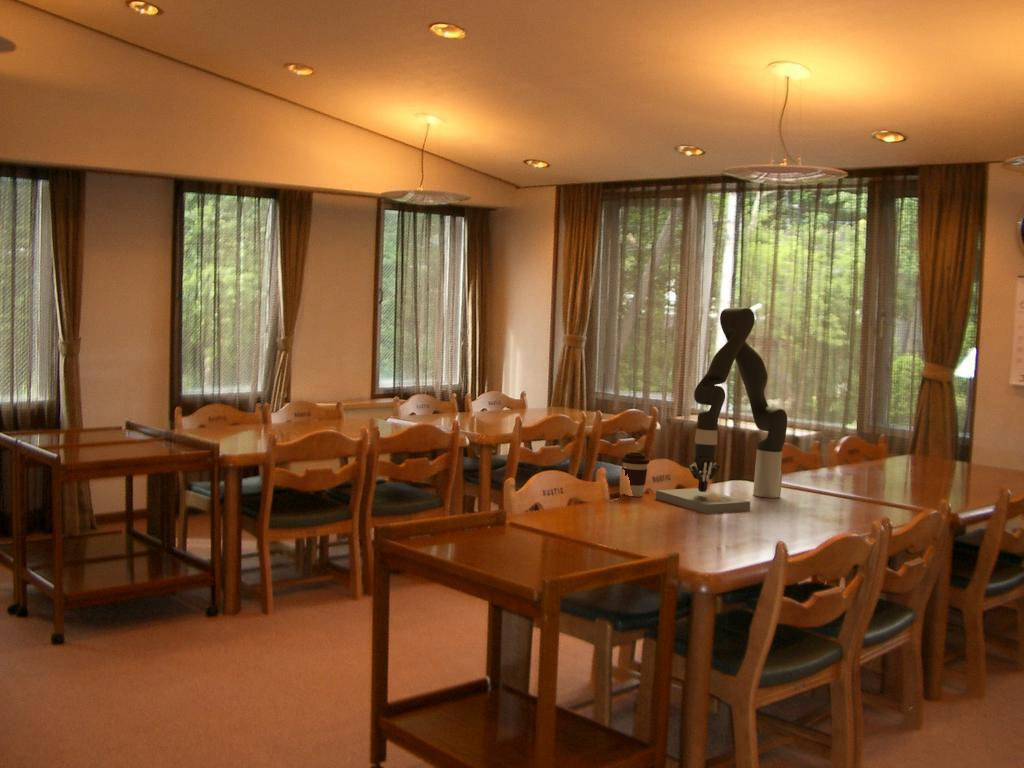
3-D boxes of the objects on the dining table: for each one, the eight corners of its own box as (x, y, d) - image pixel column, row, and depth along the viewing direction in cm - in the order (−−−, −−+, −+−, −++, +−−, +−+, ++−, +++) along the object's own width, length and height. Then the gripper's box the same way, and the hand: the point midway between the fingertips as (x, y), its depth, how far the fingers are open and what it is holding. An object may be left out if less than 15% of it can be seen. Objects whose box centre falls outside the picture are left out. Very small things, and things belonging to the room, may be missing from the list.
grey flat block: (698, 496, 379) (699, 488, 379) (749, 510, 357) (750, 501, 357) (655, 498, 369) (656, 490, 368) (705, 513, 347) (706, 504, 346)
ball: (719, 511, 358) (710, 504, 362) (726, 498, 357) (716, 492, 361) (710, 508, 355) (701, 501, 359) (717, 495, 354) (707, 488, 358)
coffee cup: (646, 493, 378) (649, 452, 377) (647, 498, 368) (650, 456, 367) (618, 491, 379) (621, 450, 378) (618, 496, 369) (621, 454, 368)
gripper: (713, 440, 368) (709, 488, 369) (684, 441, 361) (680, 490, 363) (727, 443, 362) (723, 492, 363) (698, 444, 355) (695, 494, 356)
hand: (702, 491), depth 363 cm, fingers closed
